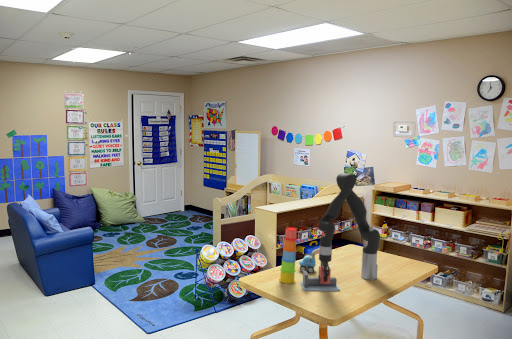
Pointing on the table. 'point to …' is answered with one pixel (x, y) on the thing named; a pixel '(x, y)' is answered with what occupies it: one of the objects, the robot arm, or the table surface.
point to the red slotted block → (321, 275)
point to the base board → (320, 288)
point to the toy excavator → (308, 262)
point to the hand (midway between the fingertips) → (324, 279)
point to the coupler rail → (316, 281)
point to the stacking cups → (289, 256)
